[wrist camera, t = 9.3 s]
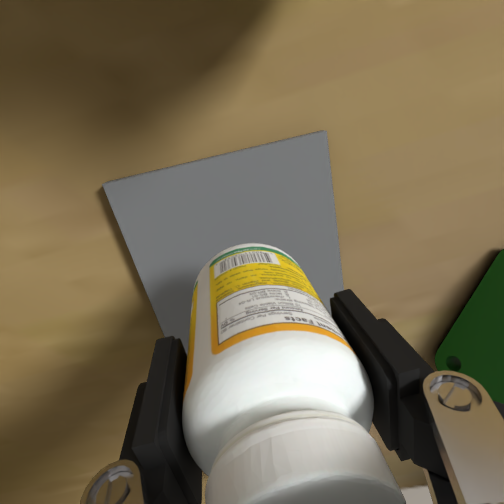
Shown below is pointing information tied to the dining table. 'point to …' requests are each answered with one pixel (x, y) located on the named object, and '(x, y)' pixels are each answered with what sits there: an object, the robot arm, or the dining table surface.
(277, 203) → the rubber mat
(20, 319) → the dining table surface
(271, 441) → the supplement bottle
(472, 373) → the clamp
